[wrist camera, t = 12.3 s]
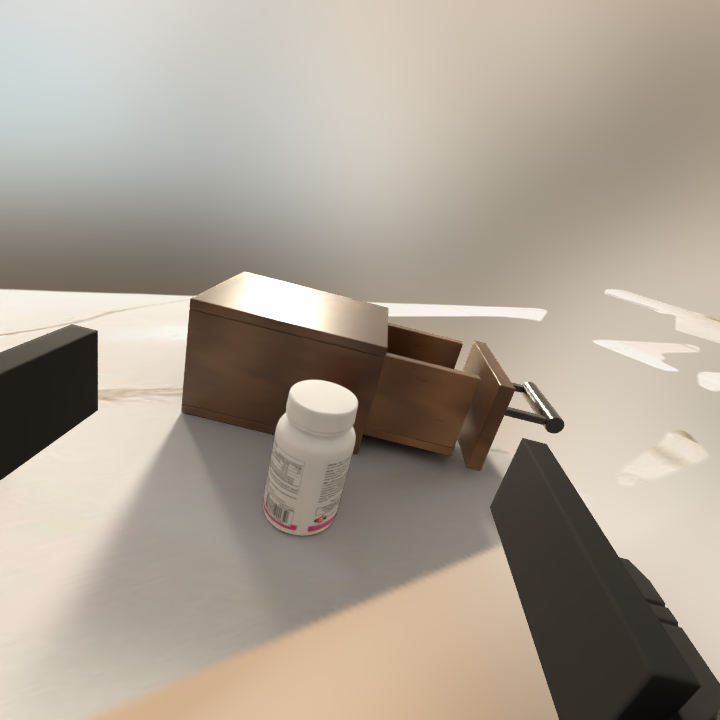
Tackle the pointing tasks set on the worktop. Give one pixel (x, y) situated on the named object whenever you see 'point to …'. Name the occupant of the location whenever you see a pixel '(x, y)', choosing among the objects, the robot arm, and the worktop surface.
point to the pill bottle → (310, 457)
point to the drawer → (447, 397)
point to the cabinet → (278, 350)
